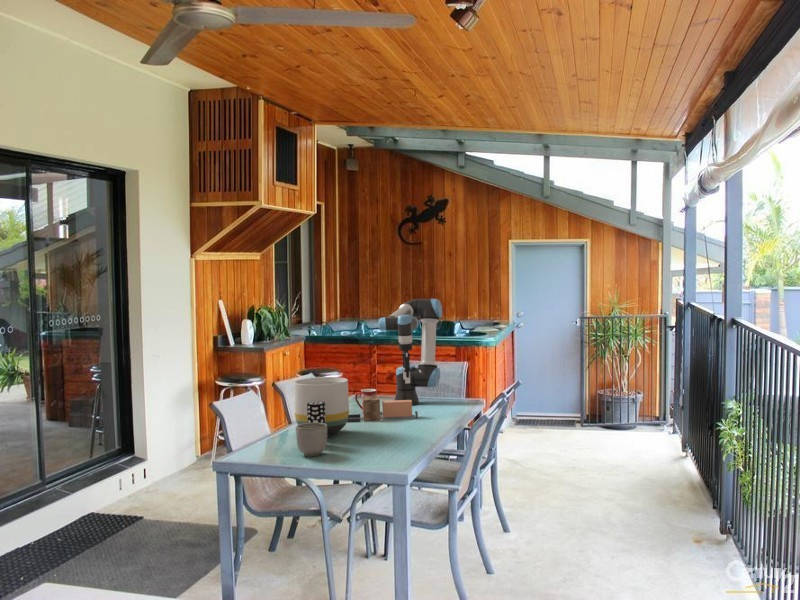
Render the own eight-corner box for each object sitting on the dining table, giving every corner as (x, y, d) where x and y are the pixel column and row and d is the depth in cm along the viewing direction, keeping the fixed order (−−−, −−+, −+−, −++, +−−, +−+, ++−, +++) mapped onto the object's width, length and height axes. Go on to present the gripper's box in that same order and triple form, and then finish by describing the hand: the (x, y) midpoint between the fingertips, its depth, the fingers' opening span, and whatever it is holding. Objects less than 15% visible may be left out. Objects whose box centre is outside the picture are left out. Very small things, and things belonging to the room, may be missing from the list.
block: (382, 417, 384) (382, 402, 383) (382, 415, 389) (382, 400, 389) (412, 416, 384) (411, 401, 384) (411, 414, 390) (411, 399, 390)
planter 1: (360, 432, 354) (358, 378, 353) (325, 443, 332) (323, 386, 331) (319, 427, 369) (318, 375, 368) (284, 437, 347) (282, 382, 346)
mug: (379, 412, 405) (378, 389, 405) (373, 415, 397) (372, 391, 396) (359, 411, 410) (358, 388, 409) (353, 414, 401) (352, 390, 401)
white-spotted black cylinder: (304, 446, 327) (303, 403, 326) (318, 443, 332) (317, 400, 332) (315, 449, 321) (314, 405, 320) (330, 445, 327) (328, 402, 326)
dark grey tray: (343, 422, 379) (343, 419, 379) (344, 418, 391) (343, 414, 391) (360, 421, 380) (359, 418, 380) (360, 417, 392) (360, 414, 392)
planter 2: (334, 453, 311) (333, 424, 310) (310, 460, 300) (309, 430, 300) (313, 449, 320) (312, 421, 320) (290, 455, 310) (289, 426, 309)
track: (361, 420, 383) (360, 414, 383) (361, 418, 388) (360, 413, 388) (417, 418, 385) (417, 412, 385) (417, 416, 390) (416, 411, 390)
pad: (382, 420, 382) (382, 419, 382) (381, 417, 391) (381, 416, 391) (413, 419, 383) (413, 418, 383) (412, 415, 392) (412, 415, 392)
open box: (363, 421, 380) (363, 400, 380) (363, 417, 392) (363, 396, 392) (380, 420, 380) (379, 399, 380) (380, 416, 392) (379, 396, 392)
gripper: (397, 341, 401) (398, 378, 402) (400, 345, 376) (401, 385, 377) (410, 340, 401) (411, 377, 402) (414, 345, 376) (415, 384, 377)
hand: (406, 381), depth 389 cm, fingers open, 13 cm apart
